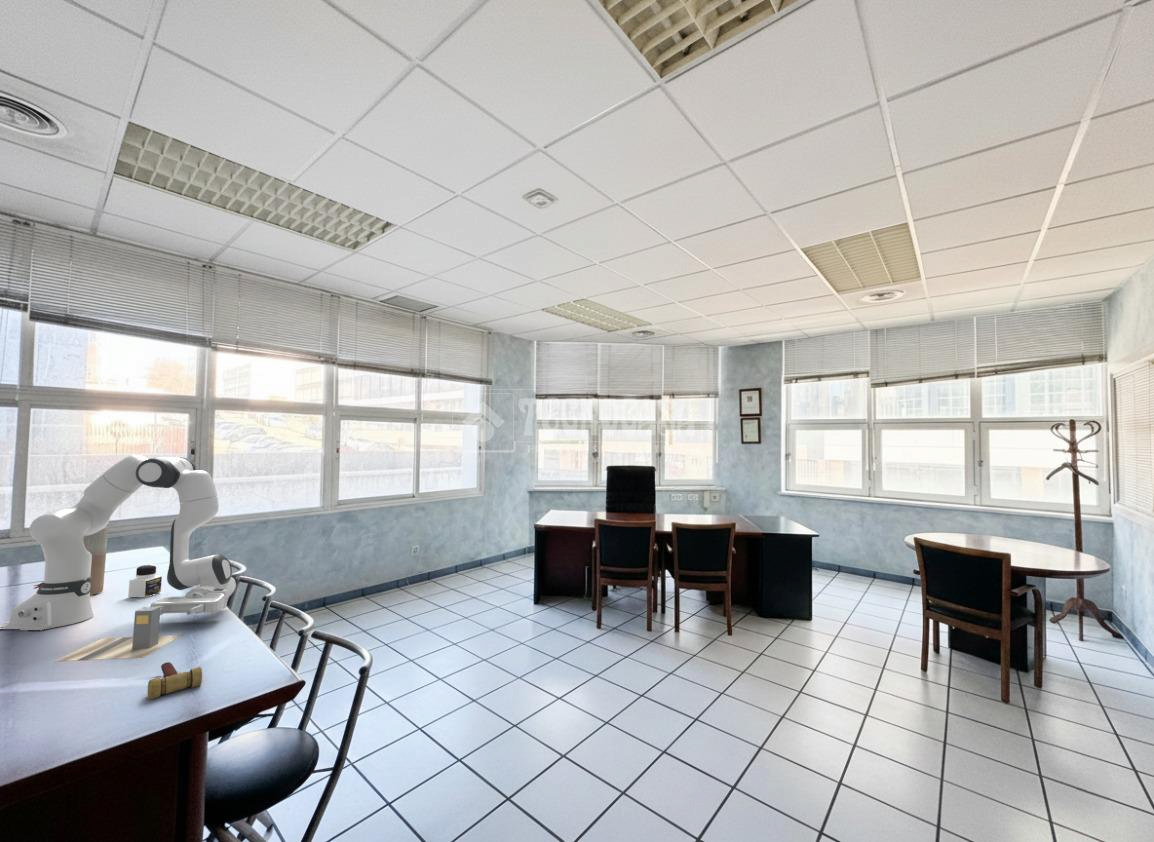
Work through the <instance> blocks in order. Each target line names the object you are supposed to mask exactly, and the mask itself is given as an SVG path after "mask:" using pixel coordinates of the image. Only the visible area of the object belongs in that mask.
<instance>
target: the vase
mask: <svg viewBox="0 0 1154 842" xmlns="http://www.w3.org/2000/svg"><path fill="white" fill-rule="evenodd" d="M108 533H109V524H108V525H107V526H106V527H105V528H103V529H102V530H100V531H98V532H96V533H94V534H92V535H89V536H85V537H83V542H84V545H85V548H86V550H87V551H89V552H90V553H91V555H92V562H91V574H90V576H92V584H91V589H90V595H92V596H94V595H93V594H96V595H98V594H97V593H99V594H101V593H100V592H102V591H103V592H104V584H105V573H106V560H107V547H108ZM103 592H102V593H103Z"/></svg>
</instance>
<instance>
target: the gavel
mask: <svg viewBox="0 0 1154 842" xmlns="http://www.w3.org/2000/svg"><path fill="white" fill-rule="evenodd" d="M160 668H161V671H162V674H163V675H162V676H163V678H161V677H160V676H159V677H156V678H153V679H149V681H148V682H147V698H148V700H149V701H150V700H155V699H157V698H160V697H161V695H167V694H171V693H174V692H177V691H181V690H185V689H187V688H191V689H193V688H195V687H200V686H202V685H201V684H202V683H203V669H202V667H201V666H198V667H194V668H190V671H183V672H180V673H178V671H177V670H176V668H175V667H174V665H173V664H172V663H171V662H169V661H167V662H164V663H162V664H161V665H160Z"/></svg>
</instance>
